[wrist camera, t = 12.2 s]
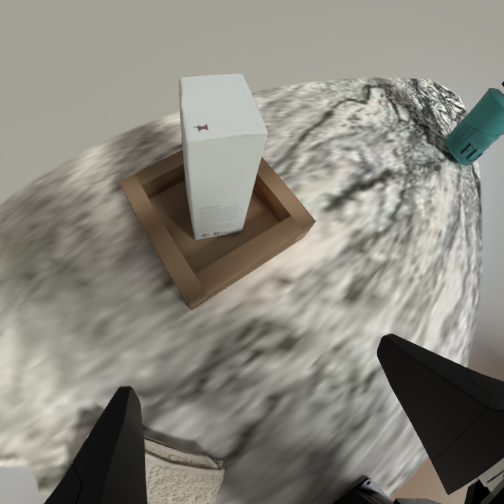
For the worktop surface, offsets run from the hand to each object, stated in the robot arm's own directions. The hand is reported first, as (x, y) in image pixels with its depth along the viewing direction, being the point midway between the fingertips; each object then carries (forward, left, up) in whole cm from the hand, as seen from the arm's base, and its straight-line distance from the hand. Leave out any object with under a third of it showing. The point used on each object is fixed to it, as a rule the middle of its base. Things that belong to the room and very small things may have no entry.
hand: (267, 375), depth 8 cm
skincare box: (+12, -6, -13) cm, 18 cm away
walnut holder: (+11, -5, -13) cm, 18 cm away
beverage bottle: (+2, -47, -14) cm, 49 cm away
